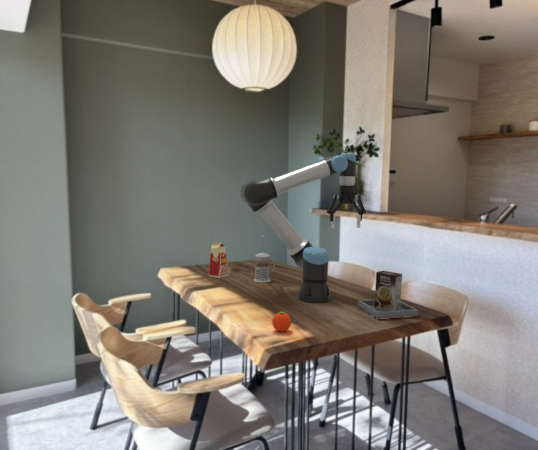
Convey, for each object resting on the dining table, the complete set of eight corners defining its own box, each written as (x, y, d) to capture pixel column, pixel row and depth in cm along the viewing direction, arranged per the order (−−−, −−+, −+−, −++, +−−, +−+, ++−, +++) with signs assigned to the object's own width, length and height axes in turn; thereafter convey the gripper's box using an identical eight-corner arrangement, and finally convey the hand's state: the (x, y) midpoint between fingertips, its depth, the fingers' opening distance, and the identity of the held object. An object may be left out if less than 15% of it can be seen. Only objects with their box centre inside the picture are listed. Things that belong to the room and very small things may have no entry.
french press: (253, 278, 242) (254, 233, 240) (274, 278, 242) (275, 234, 240) (252, 282, 233) (253, 236, 230) (274, 282, 232) (274, 236, 230)
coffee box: (373, 309, 184) (375, 272, 182) (381, 306, 188) (382, 269, 187) (393, 314, 177) (395, 275, 176) (400, 310, 182) (402, 273, 181)
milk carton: (229, 275, 249) (229, 240, 247) (219, 278, 241) (219, 242, 239) (217, 273, 254) (217, 239, 251) (206, 276, 246) (206, 241, 244)
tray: (377, 320, 172) (378, 312, 172) (357, 307, 189) (358, 300, 189) (417, 317, 176) (418, 310, 176) (394, 304, 194) (395, 298, 193)
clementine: (271, 326, 162) (271, 308, 161) (289, 326, 162) (290, 308, 162) (272, 334, 154) (272, 315, 153) (291, 334, 154) (292, 315, 154)
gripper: (366, 185, 220) (365, 226, 222) (320, 184, 214) (319, 227, 216) (373, 185, 213) (372, 228, 215) (326, 184, 207) (325, 228, 209)
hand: (345, 227), depth 216 cm, fingers open, 13 cm apart
